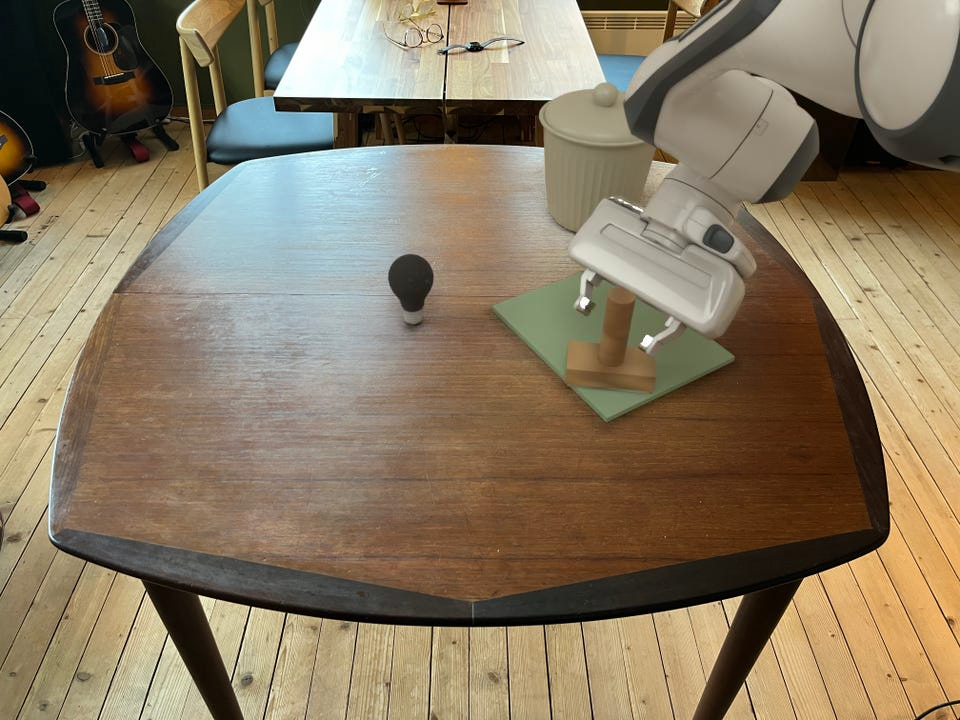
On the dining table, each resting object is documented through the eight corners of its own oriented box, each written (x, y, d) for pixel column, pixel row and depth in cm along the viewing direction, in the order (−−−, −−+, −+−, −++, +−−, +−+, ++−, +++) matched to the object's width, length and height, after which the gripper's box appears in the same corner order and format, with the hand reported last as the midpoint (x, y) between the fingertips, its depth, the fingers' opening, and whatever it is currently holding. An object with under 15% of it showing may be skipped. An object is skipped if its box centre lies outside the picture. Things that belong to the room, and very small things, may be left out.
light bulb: (387, 333, 93) (381, 268, 87) (397, 307, 97) (392, 242, 91) (430, 338, 93) (427, 273, 86) (439, 311, 97) (437, 247, 90)
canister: (669, 214, 116) (696, 81, 102) (608, 263, 106) (630, 122, 92) (574, 179, 125) (587, 51, 111) (509, 221, 114) (515, 86, 100)
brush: (649, 367, 88) (667, 285, 80) (651, 396, 84) (670, 313, 76) (566, 359, 89) (575, 277, 81) (564, 387, 85) (574, 305, 77)
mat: (733, 361, 90) (735, 356, 89) (606, 422, 82) (607, 417, 81) (609, 266, 105) (609, 261, 105) (491, 310, 97) (491, 305, 97)
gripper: (598, 177, 82) (531, 282, 84) (758, 253, 71) (677, 372, 72) (619, 200, 88) (555, 298, 89) (770, 274, 76) (695, 385, 78)
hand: (611, 332), depth 81 cm, fingers open, 8 cm apart
